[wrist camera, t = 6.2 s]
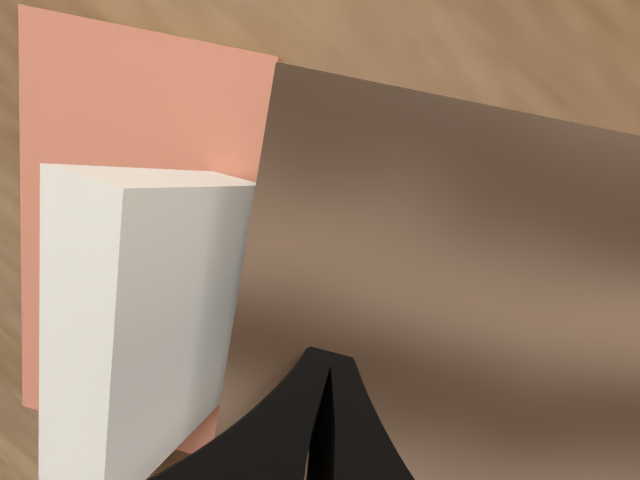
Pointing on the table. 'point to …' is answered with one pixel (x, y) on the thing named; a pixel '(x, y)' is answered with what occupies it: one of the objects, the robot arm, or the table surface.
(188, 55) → the mat
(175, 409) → the tile
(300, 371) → the robot arm
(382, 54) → the table surface
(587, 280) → the plate
